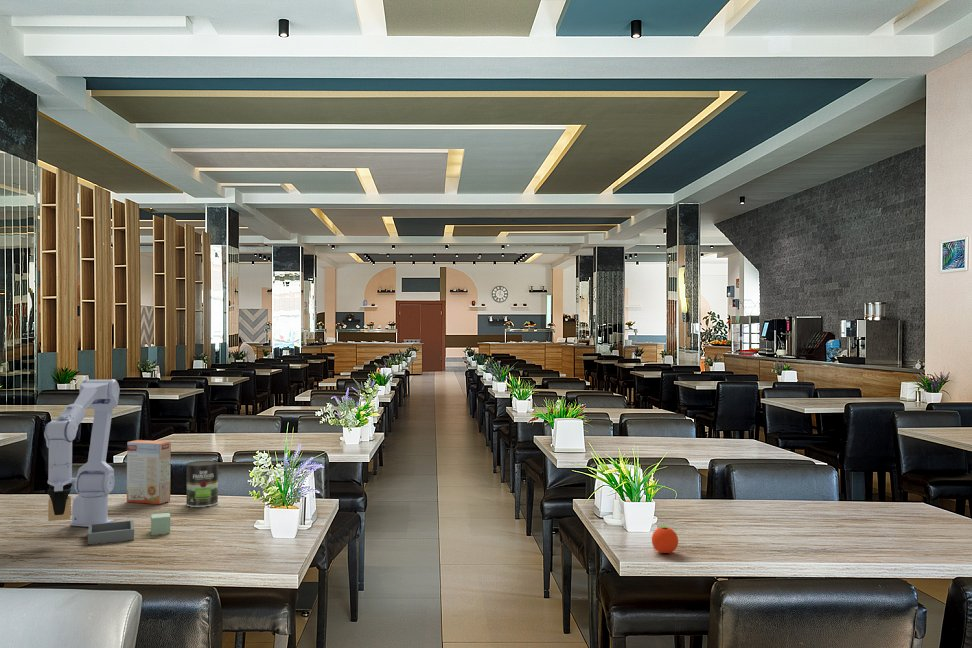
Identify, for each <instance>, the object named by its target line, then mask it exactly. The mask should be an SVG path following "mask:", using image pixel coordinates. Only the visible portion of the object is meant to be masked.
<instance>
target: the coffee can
mask: <svg viewBox="0 0 972 648" xmlns="http://www.w3.org/2000/svg"><path fill="white" fill-rule="evenodd" d="M219 464H220V463H219V462H218V461H216V460H198V461H197V460H196V461H190V462H187V463H186V497H185V498H186V502H185V503H186V504H185V505H187V506H186V507H188V506H190V507H189V508H193V507H202V508H207V507H206V506H210V507H214V506H216V504H217V505H218V504H219ZM213 505H214V506H213Z"/></svg>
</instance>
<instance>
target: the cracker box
mask: <svg viewBox="0 0 972 648" xmlns="http://www.w3.org/2000/svg"><path fill="white" fill-rule="evenodd" d="M126 446H127V447H126V449H127V450H126V503H127V502H128V503H138V504H149V505H157V504H158V505H162V504H165V502H166V503H169V502H171V463H172V462H171V454H172V453H171V451H172V449H171V448H172V447H171V446H172V443H171V441H162V440H161V441H160V440H147V439H146V440H145V439H144V440H143V439H135V440H131V441H127V445H126ZM168 501H169V502H168Z"/></svg>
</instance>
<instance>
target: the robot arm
mask: <svg viewBox="0 0 972 648" xmlns="http://www.w3.org/2000/svg"><path fill="white" fill-rule="evenodd" d="M78 391H79V394H78V395H77V397H76V399H75V400H74V402H73V403H70V404H67V406H66V407H65V408H64V409H63V410H62V411H61V413H60V414H59V415H58V416H57V417H56V419H55V420H51V421H50V422H48V423H46V425H45V429H44V433H43V435H44V438H45V442H46V443H45V445H46V448H47V449H48V475H47V476H48V477H47V478H48V479H47V484H48V485H49V489H47V490H46V491H47V492H46V493H47V495H48V496H49V498H51V501H52V505H53V510H54V514H55V515H63V514H64V511H65V506H66V500H67V497H68V496H70V493H71V491H72V486H73V483H74V487H73V488H74V490H75V491H76V493H77V495H76V496H75V497H74V499H73V500H72V503H71V518H72V519H71V523H69V526H75V527H86V528H89V524H98V523H108V522H115V519H112V518H111V519H108V515H109V514H108V511H109V509H108V508H109V507H108V505H109V504H108V503H109V502H108V501H109V500H108V499H109V498H108V497H109V496H108V495H109V494H111V493H112V491H113V489H114V487H115V483H116V481H115V468H113V467H112V466H111V465H110V464H108V463H107V455H108V454H107V453H108V448H109V447H108V446H109V441H110V439H109V438H110V433H111V432H110V431H111V426H112V425H111V424H112V418H113V417H112V416H113V409H115V408H116V407H118V405H119V404H118V403H119V400H120V399H119V398H120V391H121V390H120V385H119V382H118V381H117V380H116V379H114V378H112V379H88V378H85V379H83V380H82V381H81V383H80V384H79V390H78ZM88 408H92V410H94V413H93V421H92V422H93V423H92V428H91V434H90V435H91V436H90V444H89V451H88V458H87V462H85V463H84V464H82V466H80V467H79V468H78V470H77V474H76V477H73V441H74V440H75V439H76V437H77V432H78V429H79V425H80V424H81V423H82V421H83V420H84V419H85V417H86V410H87V409H88ZM72 482H73V483H72Z"/></svg>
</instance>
